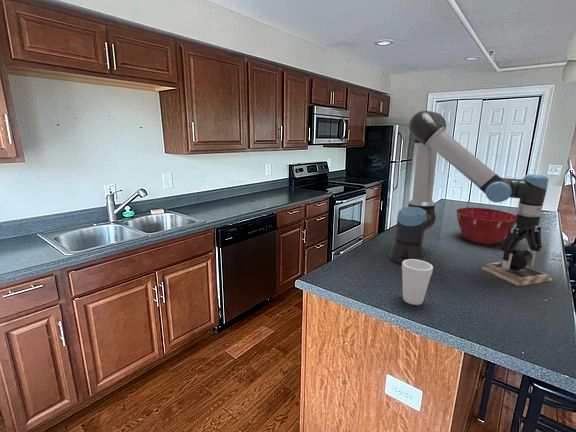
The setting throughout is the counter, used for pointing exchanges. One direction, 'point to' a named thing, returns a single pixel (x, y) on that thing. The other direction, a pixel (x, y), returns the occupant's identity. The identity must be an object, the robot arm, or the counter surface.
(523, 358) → the counter surface
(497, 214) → the mixing bowl
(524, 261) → the end cap
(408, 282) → the foam cup
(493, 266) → the picture frame
